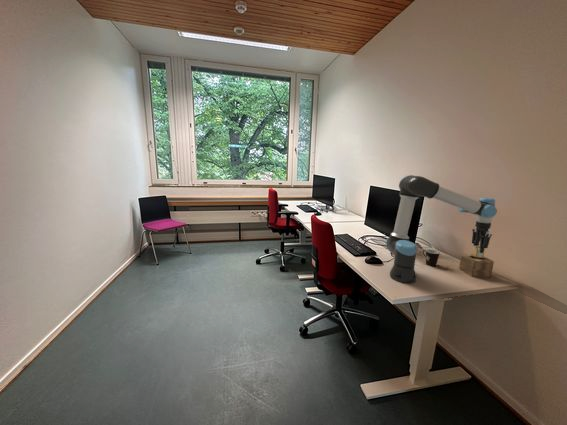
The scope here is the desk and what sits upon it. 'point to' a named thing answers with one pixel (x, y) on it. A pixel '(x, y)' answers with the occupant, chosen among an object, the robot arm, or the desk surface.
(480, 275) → the box
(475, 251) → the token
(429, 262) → the coffee mug
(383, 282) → the desk surface
